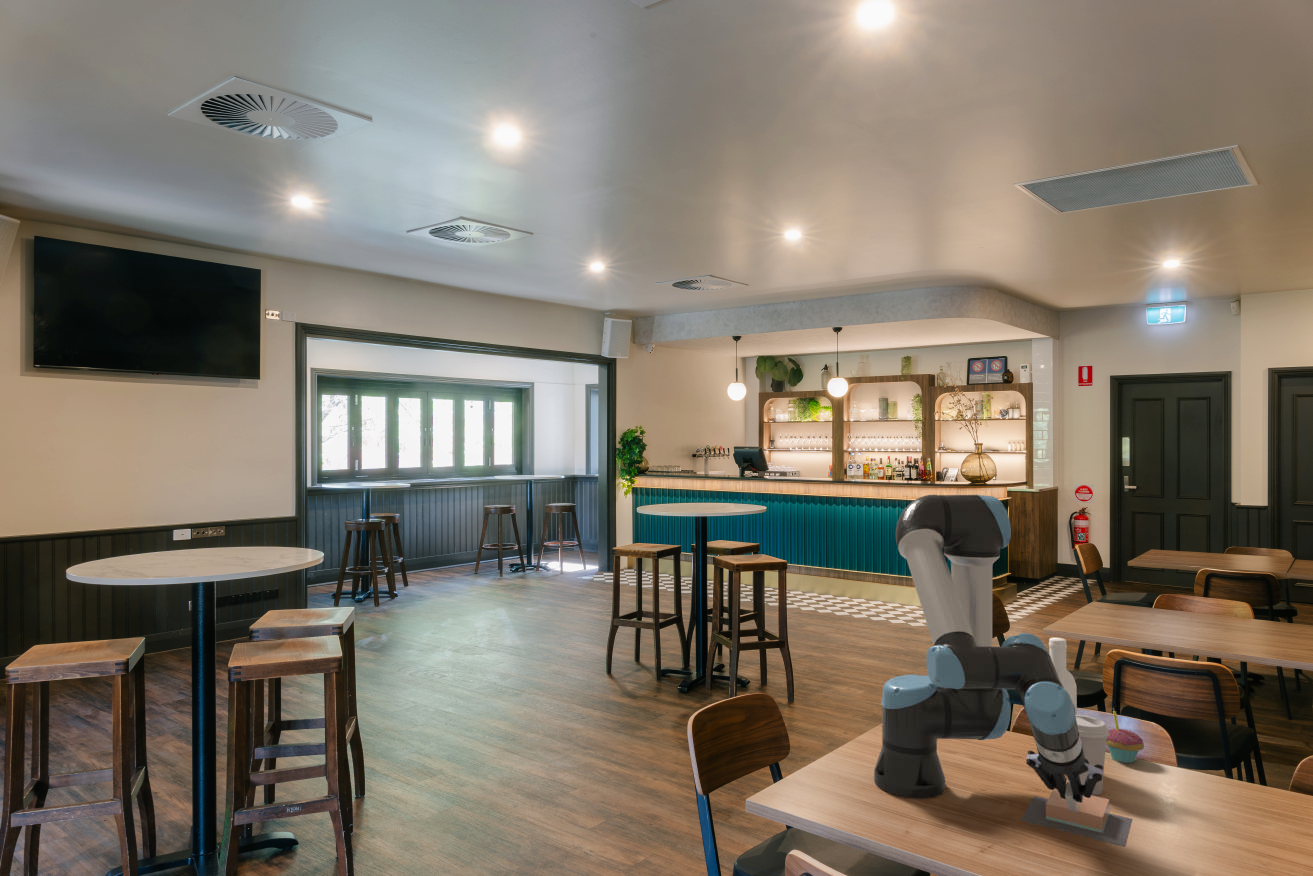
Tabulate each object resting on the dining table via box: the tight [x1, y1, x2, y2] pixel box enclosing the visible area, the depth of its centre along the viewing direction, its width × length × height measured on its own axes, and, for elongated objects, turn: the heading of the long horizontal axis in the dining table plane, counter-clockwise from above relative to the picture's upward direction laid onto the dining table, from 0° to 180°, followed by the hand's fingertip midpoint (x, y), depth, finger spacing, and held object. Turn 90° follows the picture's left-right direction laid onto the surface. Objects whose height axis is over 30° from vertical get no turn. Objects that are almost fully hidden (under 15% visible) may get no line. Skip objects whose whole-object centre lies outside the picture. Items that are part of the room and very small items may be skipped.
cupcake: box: [1106, 707, 1145, 764], centre depth 191 cm, size 9×8×12 cm
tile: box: [1046, 788, 1110, 833], centre depth 159 cm, size 10×3×10 cm
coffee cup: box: [1067, 714, 1109, 796], centre depth 174 cm, size 10×10×15 cm
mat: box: [1020, 795, 1133, 848], centre depth 158 cm, size 18×14×1 cm
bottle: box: [1048, 637, 1078, 715], centre depth 187 cm, size 8×8×30 cm
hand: (1074, 804), depth 155 cm, fingers closed
